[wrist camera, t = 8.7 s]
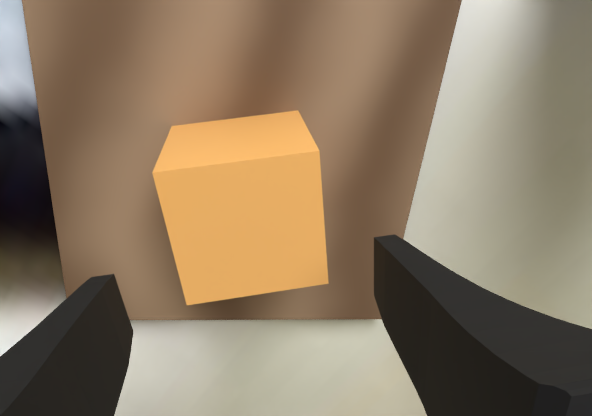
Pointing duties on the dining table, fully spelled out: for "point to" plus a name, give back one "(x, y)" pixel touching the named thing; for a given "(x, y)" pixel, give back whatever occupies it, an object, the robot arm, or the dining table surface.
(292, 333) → the dining table surface
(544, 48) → the dining table surface
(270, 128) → the orange wooden cube
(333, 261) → the post board
